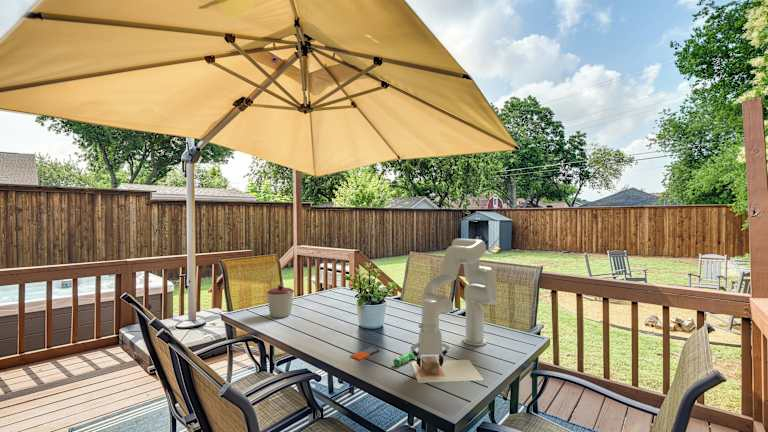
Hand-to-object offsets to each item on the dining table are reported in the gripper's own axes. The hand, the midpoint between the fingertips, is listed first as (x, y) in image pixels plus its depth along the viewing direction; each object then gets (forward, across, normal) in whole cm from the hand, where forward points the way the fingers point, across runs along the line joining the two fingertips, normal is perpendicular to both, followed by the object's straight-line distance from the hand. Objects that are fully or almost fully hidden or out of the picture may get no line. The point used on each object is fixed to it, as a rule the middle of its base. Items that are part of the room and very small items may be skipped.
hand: (429, 365), depth 155 cm
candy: (+3, -10, +10) cm, 15 cm away
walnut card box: (+2, 0, 0) cm, 2 cm away
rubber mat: (+3, +7, 0) cm, 8 cm away
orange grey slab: (+4, -28, +21) cm, 35 cm away
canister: (+3, -83, +88) cm, 121 cm away
